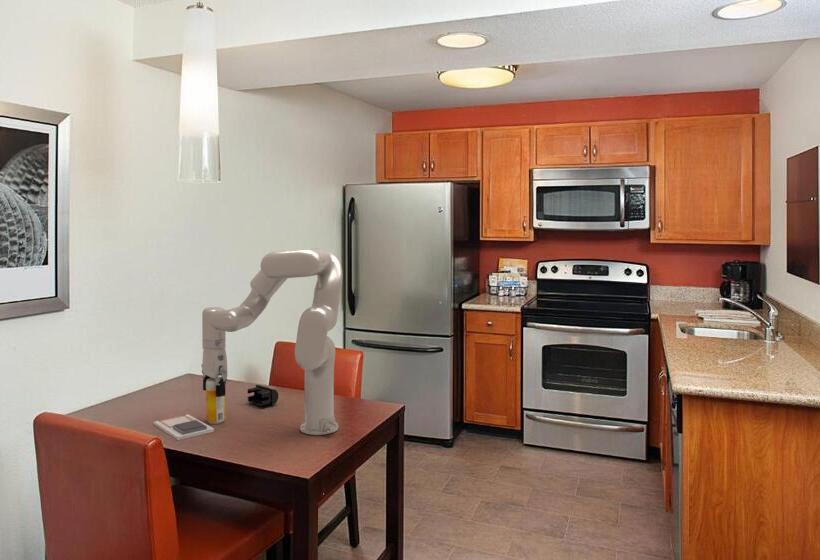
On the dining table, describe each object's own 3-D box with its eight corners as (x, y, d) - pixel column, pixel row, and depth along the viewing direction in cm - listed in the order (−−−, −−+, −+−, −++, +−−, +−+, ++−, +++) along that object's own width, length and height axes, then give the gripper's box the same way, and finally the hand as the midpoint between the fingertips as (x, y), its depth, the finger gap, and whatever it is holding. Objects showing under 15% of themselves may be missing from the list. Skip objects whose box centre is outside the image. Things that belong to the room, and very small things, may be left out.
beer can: (217, 417, 215) (216, 375, 213) (229, 421, 211) (228, 378, 210) (203, 422, 210) (202, 379, 208) (214, 425, 206) (213, 382, 205)
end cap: (278, 405, 230) (278, 387, 229) (263, 409, 224) (263, 391, 224) (262, 400, 236) (262, 383, 236) (247, 404, 231) (246, 386, 230)
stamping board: (214, 431, 200) (213, 424, 200) (177, 440, 192) (177, 433, 192) (188, 417, 215) (188, 410, 215) (153, 424, 207) (153, 417, 207)
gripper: (236, 346, 204) (236, 396, 206) (213, 338, 217) (213, 385, 218) (215, 349, 199) (215, 400, 201) (192, 340, 212) (192, 389, 213)
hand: (214, 392), depth 209 cm, fingers open, 9 cm apart
